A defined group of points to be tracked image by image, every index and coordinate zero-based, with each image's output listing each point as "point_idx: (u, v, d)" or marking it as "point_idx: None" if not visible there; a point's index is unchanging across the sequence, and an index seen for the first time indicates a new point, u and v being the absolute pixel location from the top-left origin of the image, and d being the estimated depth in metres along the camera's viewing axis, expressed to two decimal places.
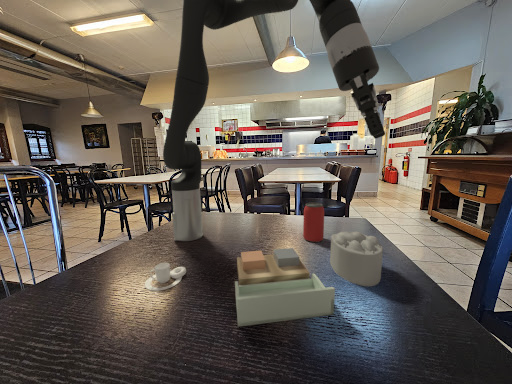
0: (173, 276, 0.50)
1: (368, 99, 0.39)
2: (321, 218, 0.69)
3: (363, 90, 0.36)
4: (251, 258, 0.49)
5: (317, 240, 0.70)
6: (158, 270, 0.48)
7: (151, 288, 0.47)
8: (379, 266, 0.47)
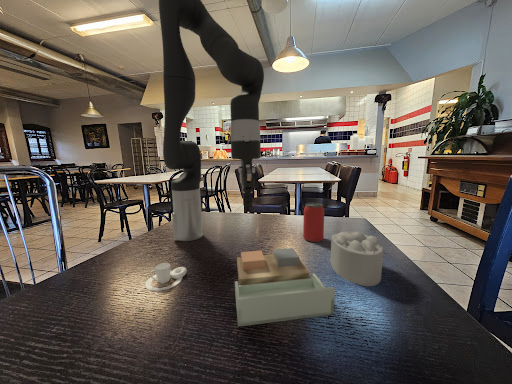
0: (173, 276, 0.50)
1: None
2: (321, 218, 0.69)
3: (250, 184, 0.52)
4: (251, 258, 0.49)
5: (317, 240, 0.70)
6: (158, 270, 0.48)
7: (151, 288, 0.47)
8: (380, 266, 0.47)
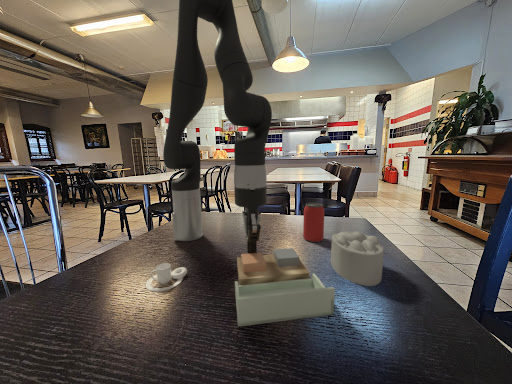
0: (174, 277, 0.50)
1: None
2: (321, 218, 0.69)
3: (255, 235, 0.48)
4: (252, 260, 0.48)
5: (317, 240, 0.70)
6: (159, 271, 0.48)
7: (152, 289, 0.47)
8: (380, 266, 0.47)
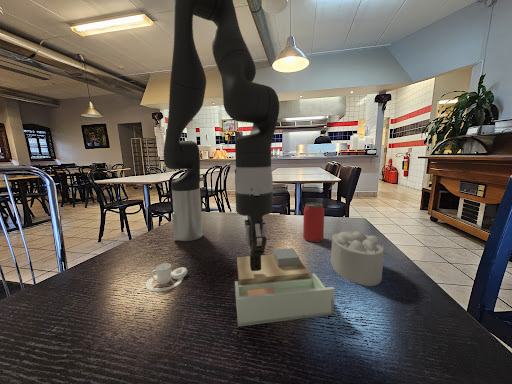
0: (174, 277, 0.50)
1: None
2: (321, 218, 0.69)
3: (260, 249, 0.41)
4: None
5: (317, 240, 0.70)
6: (159, 271, 0.48)
7: (152, 289, 0.47)
8: (381, 266, 0.47)
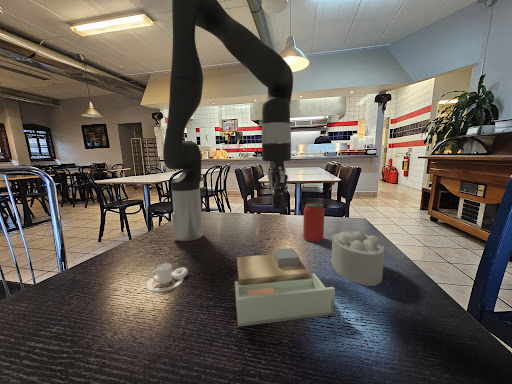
0: (175, 277, 0.50)
1: None
2: (321, 218, 0.69)
3: (282, 186, 0.53)
4: None
5: (317, 240, 0.70)
6: (160, 271, 0.48)
7: (153, 289, 0.47)
8: (381, 265, 0.47)
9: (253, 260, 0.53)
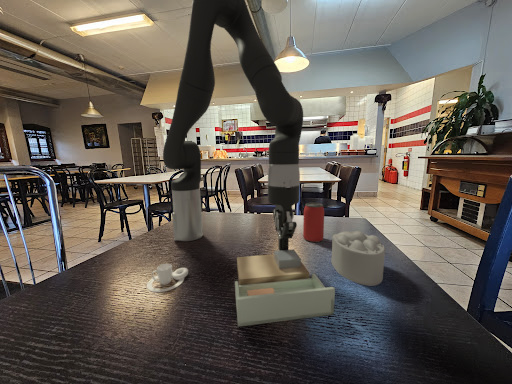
0: (175, 277, 0.50)
1: None
2: (321, 218, 0.69)
3: (290, 232, 0.49)
4: None
5: (317, 240, 0.70)
6: (160, 271, 0.47)
7: (153, 289, 0.46)
8: (382, 265, 0.47)
9: (253, 260, 0.53)
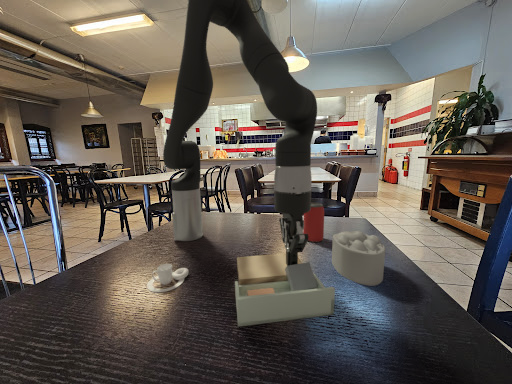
0: (175, 277, 0.50)
1: None
2: (321, 218, 0.69)
3: (300, 246, 0.42)
4: None
5: (317, 240, 0.70)
6: (160, 271, 0.47)
7: (153, 290, 0.46)
8: (382, 265, 0.47)
9: (253, 260, 0.53)
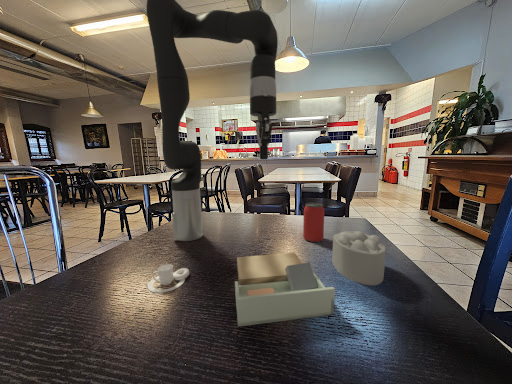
0: (176, 278, 0.50)
1: None
2: (321, 218, 0.69)
3: (267, 135, 0.59)
4: None
5: (317, 240, 0.70)
6: (161, 272, 0.47)
7: (154, 290, 0.46)
8: (383, 265, 0.47)
9: (253, 260, 0.53)
